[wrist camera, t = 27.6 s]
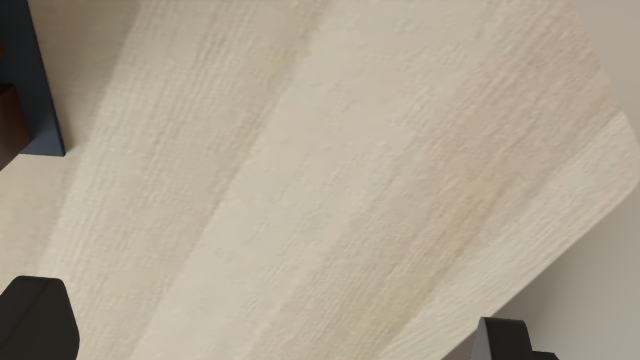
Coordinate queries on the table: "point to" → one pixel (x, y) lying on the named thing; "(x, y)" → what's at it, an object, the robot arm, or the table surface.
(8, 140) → the tile
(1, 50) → the tile
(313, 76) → the table surface
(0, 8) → the mat
